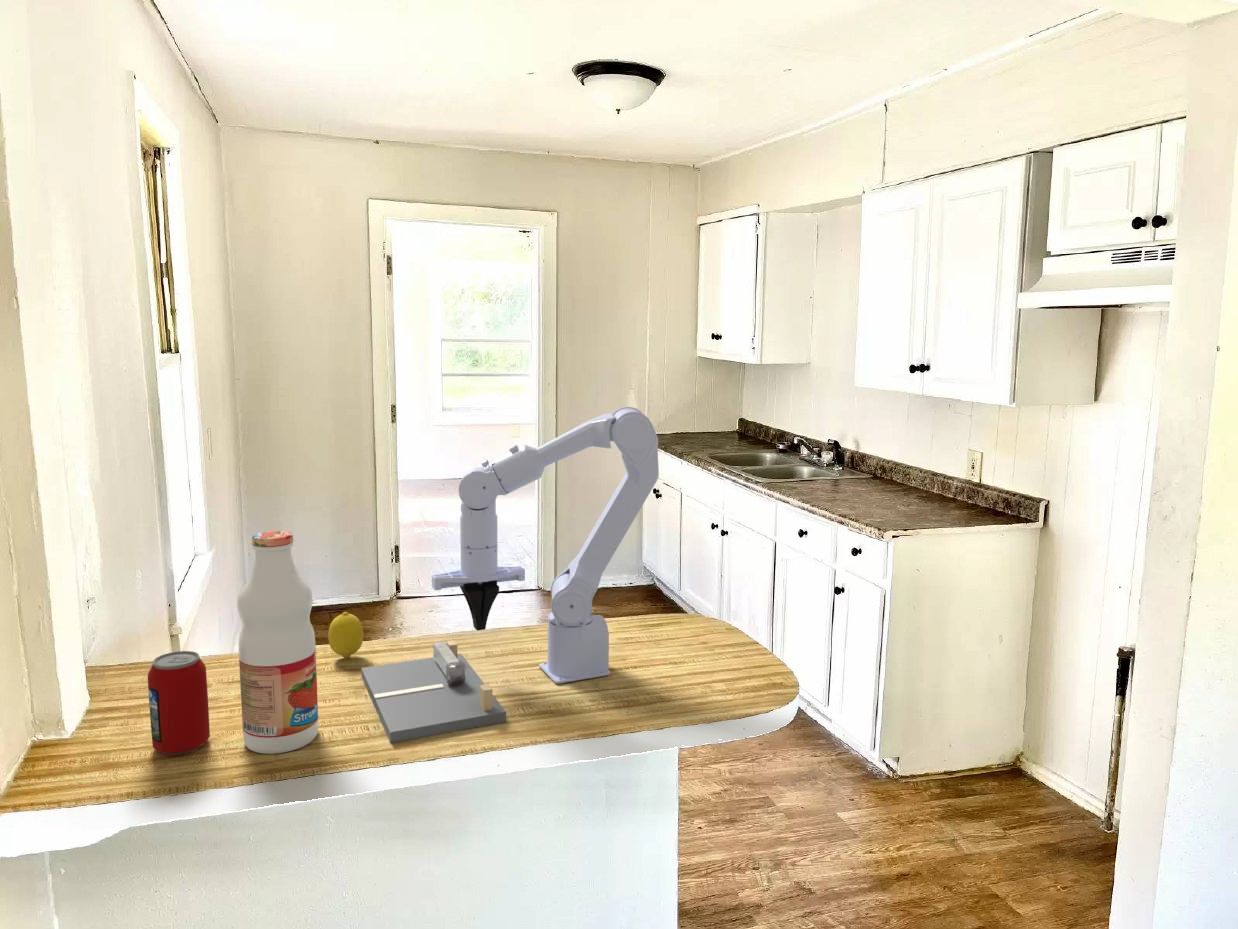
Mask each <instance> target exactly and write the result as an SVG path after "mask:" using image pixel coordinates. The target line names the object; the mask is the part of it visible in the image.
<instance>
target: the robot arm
mask: <svg viewBox="0 0 1238 929" xmlns="http://www.w3.org/2000/svg"><path fill="white" fill-rule="evenodd" d="M611 442H613V443H614V444H615V445H616V447H617V449H618V450H619V451H620V455H621V460H622V462H623V465H624V468H625V474H624V475H623V477H622V478H621V480H620V482H619V484H618V485H617V487H616V489H615V490H614V492H613V493H612V496H611V497H610V499H609V501H608V502H607V505H606V506H605V508H604V509H603V511H602V513H601V514H600V516H599V517H598V519H597V521H596V522H595V524H594V526H593V528H592V529H591V532H590V533H589V535H588V537H587V538H586V540H585V541H584V543H583V545H582V547H581V548H580V550H579V552H578V554H577V556H575V557H574V558H573V559H572V560H571V561H570V562H569V564H568V566H567V567H566V569H565V570H563V571H562V572H561V573H559V574H558V575H556V576H555V578H553V580H552V582H551V584H550V596H551V603H550V609H551V612H549V614H548V616H547V662H541V663H539V665H538V666H539V668H540V669H541V670H542V671H543V672H544V673H545V674H546V675H547V676H548V677H549V679H551V681H553V682H554V683H555V684H557V685H559V684H563V683H571V682H575V681H582V680H586V679H587V680H588V679H593V678H594V679H595V678H601V677H605V676H610V675H611V670H609V665H610V664H609V662H610V661H609V660H610V633H609V628H608V623H607V621H606V619H605V618H604V617H603V616H602V615H600V614H598V615H597V614H596V615H595V614H593V612H592V609H593V608H592V607H593V598H594V596H595V594H596V593H597V591H598V588H599V585H600V581H601V580H602V575H603V573H604V572H605V570H606V568H607V567H608V564H609V563H610V562H611V559H612V558H613V557H614V554H615V553H616V551H617V550H618V548H619V546H620V545H621V543H622V541H623V539H624V537H626V534H627V533H628V530H629V529H630V528H631V526H632V524H633V522H634V521H635V519H636V518H637V516H638V514H639V512H640V511H641V509H642V506H644V503H645V502H646V500H647V499H648V497H649V495H650V493H651V492H652V491H653V488H654V487H655V485H656V483H657V481H658V479H659V476H660V475H659V474H660V471H659V451H658V450H659V449H658V448H659V447H658V445H659V437H658V435H657V432H656V430H655V427H654V426H653V423H652V422H651V420H650V418H649V417H648V416H646V415H645V414H644V413H642V411H641V410H639V409H638V408H635V407H633V406H622V407H620V408H618V409H616V410H615V411H614V412H613V413H612V412H608V413H604V414H601V415H599V416H596V417H593V418H591V419H589V420H587V421H585V422H583V423H581V424H580V425H578V426H576V427H574V428H571V430H568V431H566V432H564V433H563V434H561V435H558V436H556V437H554V439H551V440H549V441H547V442H546V443H544V444H541V445H539V447H532V446H529V445H527V444H524V445H521V446H518V445H517V444H514V445H512V446H511V447H509V449H508V451H509V452H506V453H505V454H502V455H500V456H498V457H497V458H495V459H492V460H491V461H489V460H488V459H486V460H483V461H481V466H482V467H480V466H477V467H473V468H471V469H468V470H467V471H466V473H465V474H464V475H463V477H462V479H461V480H460V482H459V486H458V496H459V498H460V500H461V504H460V512H461V515H460V517H459V518H460V519H459V520H460V521H459V527H460V529H459V530H460V532H459V533H460V535H459V536H460V537H459V538H460V539H459V540H460V569H458V570H454V571H453V570H452V571H450V572H444V573H439V574H432V575H431V588H432V589H433V590H434V591H441V590H442V589H450V588H458V587H459V588H460V590H461V592H462V594H463V595H464V598H465V600H466V603H467V606H468V608H469V612H470V615H471V618H472V623H473V624H472V625H473V628H474V629H475V631H484V630H486V628H487V627H486V626H487V622H488V619H489V616H490V611H491V610H492V607H493V605H494V602H495V600H496V598H497V596H498V595H499V592H500V586H499V585H498V583H503V582H511V581H512V582H513V581H514V582H515V581H518V582H524V581H526V569H525V568H524V567H522V565H518V566H498V515H497V513H496V510H497V508H496V507H497V506H496V505H497V502H496V500H497V497H498V496H506V495H508V494H510V493H513V492H515V491H516V490H520V488H523V487H525V486H527V485H530V484H532V483H534V482H535V481H538V480H539V479H541V478H542V477H543V473H544V470H545V468H546V467H547V466H550V465H552V464H554V463H558V462H559V461H560V460H563V459H565V458H567V457H569V456H573V455H575V454H576V453H579V452H581V451H583V450H586V449H588V448H591V447H595V448H604V449H612V445H611V444H612V443H611Z"/></svg>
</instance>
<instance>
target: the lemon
mask: <svg viewBox="0 0 1238 929" xmlns="http://www.w3.org/2000/svg"><path fill="white" fill-rule="evenodd" d="M327 634H328V637H327V638H328V644H329V647H330V648H331V650H332V651H333V652H334V653H335V654H336V655H338V656H341V657H343V658H344V659H349V658H350V657H351V656H352V655H354V654H355V653H357V652H358V651H359V650H360V648H361V647H362V645H363V642H364V630H363V625H362V623H361V621H360V619H359V618H358V617H357V616H355V615H353V614H351V613H348V611H343V612H342V614H339V615H337V616H336V617H334V619H333V620H332V622H330V625H329V628H328V633H327Z"/></svg>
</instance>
